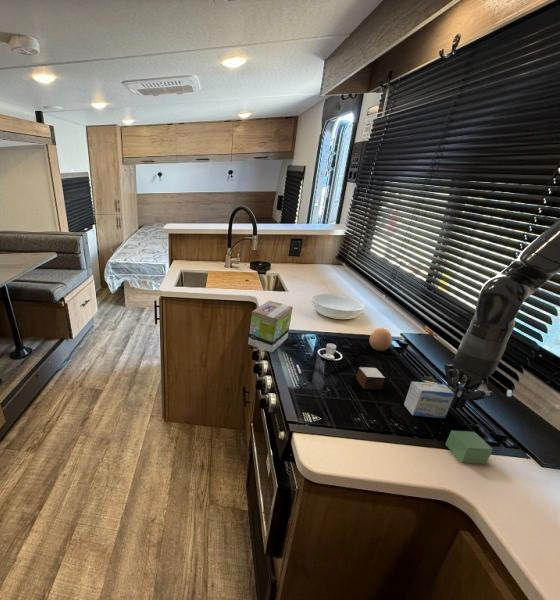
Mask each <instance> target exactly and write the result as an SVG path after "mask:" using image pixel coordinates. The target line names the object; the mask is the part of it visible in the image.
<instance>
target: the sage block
mask: <svg viewBox="0 0 560 600" xmlns="http://www.w3.org/2000/svg"><path fill="white" fill-rule="evenodd" d="M444 445H445V446H446V448H448V449H449V451H450V452H451V453H452V454H453V455H454V456H455V457H456V458H457V459H458V461H460V462H461V463H468V464H481V465H486V464H487V462H488V461H489V459H490V458H491V455H492V452H493V451H494V448H493V447H491V446H490V445H489V444H488V443H487V442H486V441H485V440H484V439H483V438H482V437H481V436H479V435H478V433H476V432H475V431H468V430H467V431H464V430H450V433H449V434H448V437H447V440H446V441H445V444H444Z"/></svg>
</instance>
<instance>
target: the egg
mask: <svg viewBox="0 0 560 600" xmlns="http://www.w3.org/2000/svg"><path fill="white" fill-rule="evenodd" d="M392 342H393V337H392V334H391V331H389V330H388V329H387V328H385V327H379V328H376V329H375V330H373V331H372V333H371V334H370V335H369V342H368V343H369V345H370V347H371V348H372V349H373V350H375V351H377V352H384V351H387V350H388V349H389V348H390V347H391V345H392Z"/></svg>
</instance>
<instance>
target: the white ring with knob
mask: <svg viewBox="0 0 560 600" xmlns="http://www.w3.org/2000/svg"><path fill="white" fill-rule="evenodd" d="M322 350H325V353H323V354H321V352H320V351H322ZM335 353H337V354H339V356H340V357H339V358H336V359H335V356H334V354H335ZM317 354H318V355H319V356H320V357H322V358H323V359H325V360H327V361H340V360H342V359H343V354H342V353H341V352H339V351H338V350H337V345H336V344H335V343H332V342H331V343H330V342H329V343H327V344H326V345H325V348H323V347H322V348H320V349H318V350H317Z"/></svg>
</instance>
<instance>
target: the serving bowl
mask: <svg viewBox="0 0 560 600" xmlns="http://www.w3.org/2000/svg"><path fill="white" fill-rule="evenodd" d="M311 303H312V306H313V308H314V310H315V311H316V312H317V313H318V314H321V315H322V316H325V317H327V318H331V319H337V320H351V319H355V318H357V317H358V316H360V315H361V314H362V313H363V311H364V309H365V304H364V303H363V302H362V301H360V300H358V299H357V298H354V297H351V296H348V295H343V294H338V293H318V294H315V295H313V296H312V301H311ZM326 305H328V306H326Z"/></svg>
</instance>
